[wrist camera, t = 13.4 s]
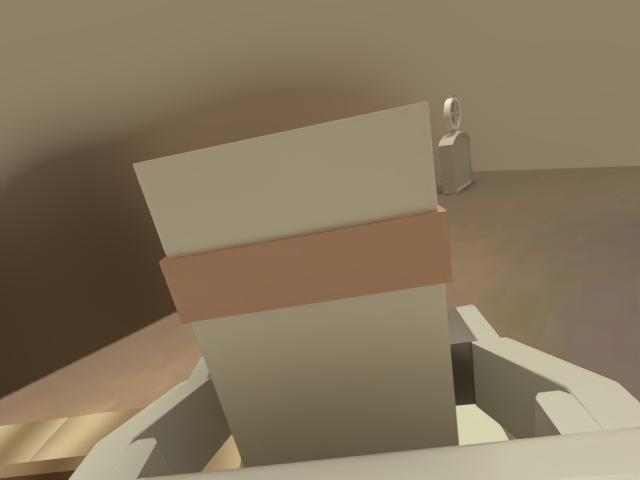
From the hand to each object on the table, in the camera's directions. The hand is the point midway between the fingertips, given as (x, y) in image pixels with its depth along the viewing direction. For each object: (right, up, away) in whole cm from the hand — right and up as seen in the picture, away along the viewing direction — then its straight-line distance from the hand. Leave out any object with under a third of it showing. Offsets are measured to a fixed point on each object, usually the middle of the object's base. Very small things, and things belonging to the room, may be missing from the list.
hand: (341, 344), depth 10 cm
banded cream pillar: (+2, -8, +2) cm, 8 cm away
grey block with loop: (+28, +14, +59) cm, 66 cm away
